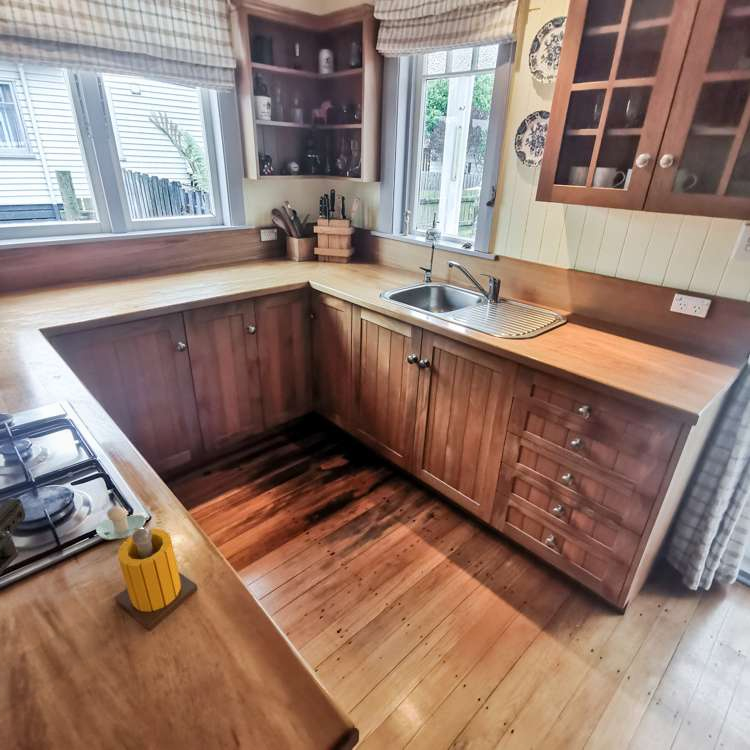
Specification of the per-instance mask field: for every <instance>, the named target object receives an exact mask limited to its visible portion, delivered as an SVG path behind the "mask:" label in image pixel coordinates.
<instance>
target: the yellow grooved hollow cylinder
mask: <svg viewBox="0 0 750 750" xmlns="http://www.w3.org/2000/svg"><path fill="white" fill-rule="evenodd" d="M149 529H150V531H151V533H152V538H151V543H152V547H153V551H154V555H152V556H151V557H148V558H145V559H142V560H141V559H140V556H139V553H138V549H137V545H136V544H135V543H134V542H133V540H132V536H130V537H127V538H125V540H124V541H123V542H122V544H121V545H120V546H119V549H118V551H117V559H118V563H119V566H120V569H121V573H122V575H123V579H124V582H125V586H126V588H127V589H128V593H129V596H130V599H131V603H132V605H133V606H134V607H135V608H137V609H138V610H140V611H150V612H151V611H152V609H153V611H155V610H157V609H160V608H163V607H164V604H165V605H166V606H167V605H168V604H169V603H170V602H172V601H173V600H174V599H175V597H177V595H178V593H179V591H180V589H181V582H180V577H179V573H178V572H179V568H178V564H177V559H176V555H175V551H174V546H173V541H172V537H171V535H170V533H169V532H167V531H166V530H164V529H162V528H149Z"/></svg>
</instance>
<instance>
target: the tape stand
mask: <svg viewBox="0 0 750 750" xmlns="http://www.w3.org/2000/svg"><path fill="white" fill-rule="evenodd" d="M150 529H151V528H148V527H146V526H143V527H141V528H138V529H137V530H135V531H134V533H133V535H132V540H133V542H134V543H135V544H136V545H137V549H138V553H139V556H140V559H141V560H142V559H145V558H148V557H151V556H152V555H154V551H153V547H152V543H151V538H152V533H151V531H150ZM178 573H179V577H180V582H181V589H180V591H179V593H178V595H177V597H175V599H174V600H173V601H172V602H170V603H169V604H168V605H167V606H166V605H165V604H164V607H163V608H160V609H157V610H155V611H153V609H152V611H151V612H150V611H140V610H138V609H137V608H135V607H134V606H133V605H132V603H131V599H130V596H129V593H128V589H127V587H126V588H124V589H123V590H122V591H120V593H118V594H117V595H116V596H114V602H115V604H116V605H117V606H119V607H120V608H121V609H122V610H123V611H125V612H126V613H127V614H128V615H130V616H131V617H132V618H133V619H134V620H136V621H137V622H138V623H139V624H141V626H143V627H144V628H145V629H146V630H148V631H149V632H152V630H153V629H155V628H156V627H157V626H158V625H159V624H160V623H161V622H163V621H164V620H165V619H166V618H167V617H168V616H169V615H171V614H172V613H173V612H174V611H175V610H176V609H178V608H179V607H180V606H181V605H182V604H184V602H186V601H187V600H188V599H189V598H190V597H191V596H192V595H194V594H195V593H196V592H197V591H198V590H199V589H198V584H197V583H195V582H194V581H193V580H191V579H190V578H188V576H185V575H184V574H182V573H181V572H179V571H178Z"/></svg>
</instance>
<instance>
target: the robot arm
mask: <svg viewBox="0 0 750 750" xmlns="http://www.w3.org/2000/svg"><path fill="white" fill-rule="evenodd" d="M26 516H27V515H26V513H25V508H24V505H23V503H22V500H21V499H20V498H16V497H14V498H13V497H9V498H8V499H7V500H6V501H5V502H4V503H2V504H1V505H0V575H1V574H3V573H4V571H5V570H6V569H7V568H8V567H10V565H11V564H12V563H13V562H14V560H16V559H17V557H18V556H19V551H18V549H17V547H16V545H15V541H14V540H13V537H12V535H11V534H12V533H14V531H15V530H16V529H17V528H18V527H19V526H20V524H21V523H22V522H23V521H25V518H26Z"/></svg>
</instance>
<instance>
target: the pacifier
mask: <svg viewBox="0 0 750 750" xmlns="http://www.w3.org/2000/svg"><path fill="white" fill-rule="evenodd" d="M106 514H107V519H104V520H103V521H101V522H99V523H98V524H97V525H96V527H95V531H96V535H97V536H98V537H100V538H101V539H104V540H109V541H110V540H116V539H119V540H120V539H127V538H129V537H131V536H132V535H133V533H134V531H135V530H137V529H138V528H141V527H144V525H145V523H146V522H147V521H146V518H145V516H144V515H141V514H129V511H128V510H127V509H125V508H124V507H120V506H114V507H111V508H109V509H108V510H107V513H106ZM127 515H130V516H127Z"/></svg>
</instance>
